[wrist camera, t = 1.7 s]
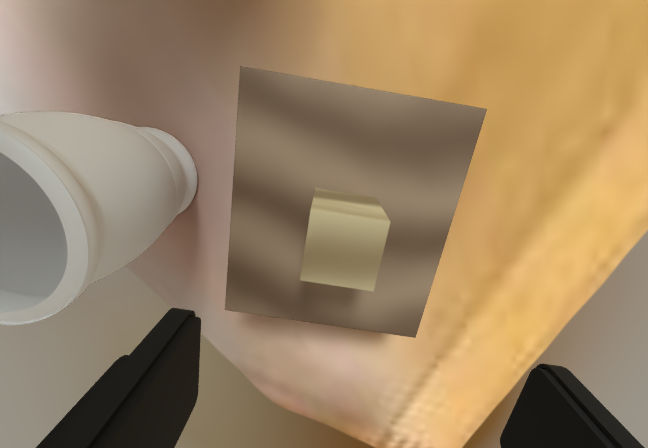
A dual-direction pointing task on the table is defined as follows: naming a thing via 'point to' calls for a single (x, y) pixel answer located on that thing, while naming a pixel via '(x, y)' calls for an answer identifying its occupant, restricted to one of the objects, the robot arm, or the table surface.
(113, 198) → the jar
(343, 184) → the lid
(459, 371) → the table surface
